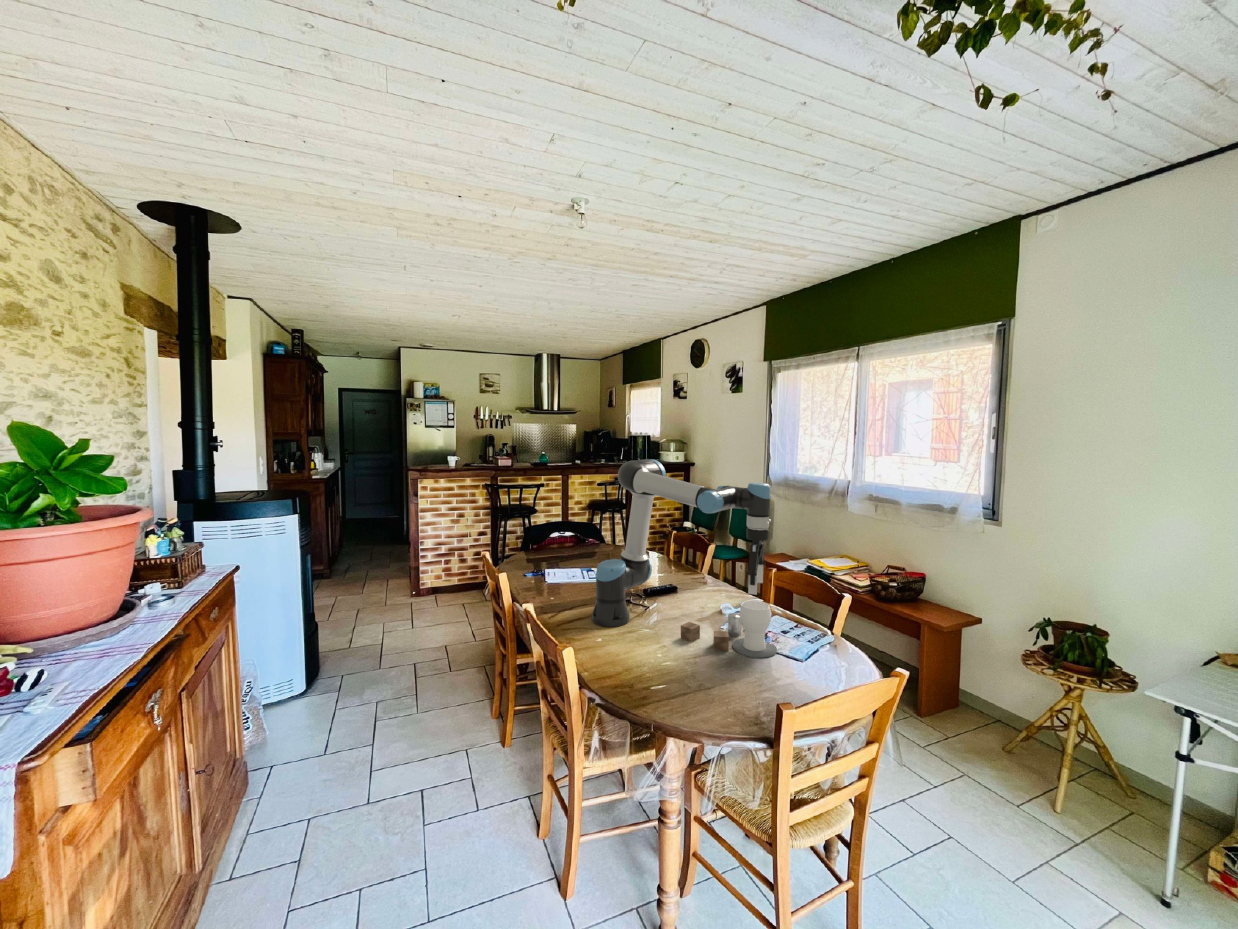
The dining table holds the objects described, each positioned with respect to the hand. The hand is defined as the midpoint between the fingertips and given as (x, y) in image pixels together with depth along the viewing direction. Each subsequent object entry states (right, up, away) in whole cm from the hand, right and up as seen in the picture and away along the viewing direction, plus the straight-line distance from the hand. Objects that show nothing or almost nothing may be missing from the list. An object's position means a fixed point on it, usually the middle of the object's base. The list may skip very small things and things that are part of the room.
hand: (755, 588), depth 178 cm
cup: (0, -21, +2) cm, 21 cm away
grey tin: (-4, -21, +14) cm, 25 cm away
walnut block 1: (-21, -21, +10) cm, 32 cm away
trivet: (0, -22, +2) cm, 22 cm away
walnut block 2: (-12, -22, +2) cm, 25 cm away
